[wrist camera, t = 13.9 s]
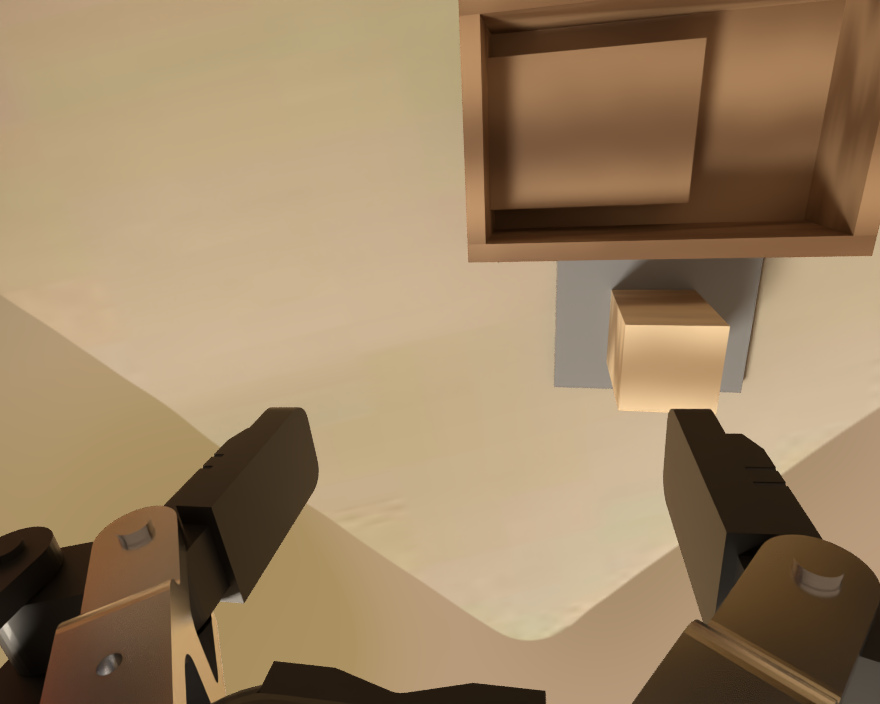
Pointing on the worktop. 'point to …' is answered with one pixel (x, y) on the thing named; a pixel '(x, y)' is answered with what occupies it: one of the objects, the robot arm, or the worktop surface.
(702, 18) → the walnut crate
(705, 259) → the plate
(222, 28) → the worktop surface
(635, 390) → the maple block
